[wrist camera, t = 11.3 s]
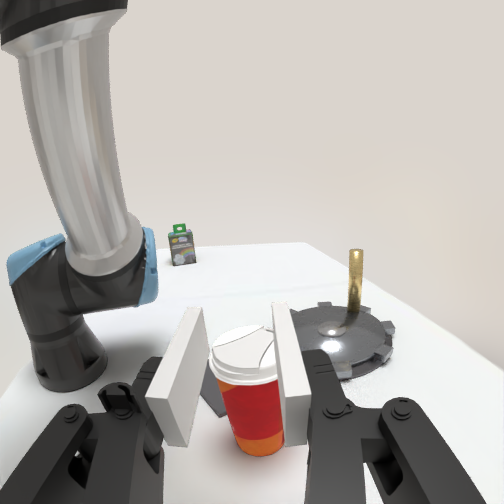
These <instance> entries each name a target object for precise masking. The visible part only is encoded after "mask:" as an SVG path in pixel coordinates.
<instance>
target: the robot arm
mask: <svg viewBox="0 0 504 504" xmlns="http://www.w3.org/2000/svg"><path fill="white" fill-rule="evenodd" d="M127 2H128V0H0V34H1V49H2V50H4V51H6V52H7V53H9V54H11V55H13V56H15V57H16V58H17V59H18V63H19V73H20V81H21V87H22V93H23V100H24V105H25V110H26V115H27V119H28V124H29V128H30V132H31V136H32V140H33V144H34V147H35V151H36V154H37V158H38V161H39V164H40V167H41V170H42V173H43V176H44V179H45V182H46V185H47V188H48V190H49V193H50V196H51V198H52V201H53V203H54V206H55V208H56V211H57V213H58V216H59V218H60V220H61V223H62V225H63V227H64V229H65V232H66V234H67V235H68V238H67V241H66V242H65V238H64V236H63V235H62V234H57V235H54V236H51V237H49V238H46V239H44V240H41V241H39V242H36V243H34V244H32V245H29V246H27V247H25V248H23V249H21V250H18V251H16V252H15V253H13V254H11V255H10V256H9V258H8V260H7V271H8V276H9V284H10V286H11V288H12V292H13V295H14V298H15V302H16V304H17V307H18V310H19V313H20V316H21V319H22V322H23V324H24V327H25V330H26V332H27V334H28V337H29V340H30V343H31V350H32V357H33V363H34V369H35V372H36V375H37V377H38V378H39V380H40V382H41V384H42V385H43V386H44V387H45V388H47V389H49V390H52V391H57V392H67V391H73V390H76V389H79V388H82V387H84V386H86V385H88V384H90V383H91V382H93V381H94V380H95V379H97V378H98V377H99V376H100V375H101V374H102V372H103V371H104V369H105V367H106V365H107V356H106V353H105V351H104V348H103V346H102V344H101V343H100V342H99V340H98V339H97V338H96V336H95V335H94V334H93V332H92V331H91V330H90V328H89V327H88V325H87V324H86V323H85V320H84V318H83V314H88V313H95V312H101V311H108V310H114V309H121V308H127V307H139V306H140V305H143V304H148V303H151V302H153V301H155V299H156V298H157V296H158V273H157V258H156V248H155V239H154V234H153V231H152V229H150V228H145V227H141V224H140V222H139V220H138V219H137V218H136V217H135V216H134V215H132V214H131V213H129V212H127V208H126V204H125V199H124V194H123V189H122V183H121V179H120V172H119V166H118V160H117V153H116V146H115V138H114V130H113V121H112V113H111V112H112V111H111V99H110V83H109V50H108V49H109V31H110V29H111V27H112V26H113V25H114V24H115V23H116V22H117V21H118V20H119V19H120V18H121V17H122V16H123V15H124V14H125V13H126V12H127ZM272 317H273V336H274V352H275V360H276V368H277V377H278V386H279V394H280V403H281V412H282V421H283V430H284V439H285V447H288V446H297V445H305V444H307V439H308V444H309V453H308V460H307V464H308V467H307V480H306V491H305V501H304V504H366V494H365V479H364V467H363V463H367V466H368V468H369V470H370V473H371V475H372V477H373V480H374V482H375V484H376V487H377V489H378V491H379V494H380V496H381V498H382V501H383V503H384V504H486V502H485V500H484V499H483V497H482V496H481V494H480V492H479V491H478V489H477V488H476V486H475V485H474V483H473V482H472V480H471V478H470V477H469V475H468V474H467V472H466V471H465V469H464V468H463V466H462V465H461V463H460V462H459V460H458V459H457V458H456V456H455V455H454V453H453V452H452V450H451V449H450V447H449V446H448V445H447V443H446V442H445V440H444V439H443V437H442V436H441V435H440V433H439V432H438V430H437V429H436V428H435V426H434V425H433V423H432V422H431V421H430V419H429V418H428V417H427V415H426V414H425V413H424V411H423V410H422V408H421V407H420V406H419V405H418V404H417V403H416V402H415V401H414V400H411V399H409V398H403V397H398V398H393V399H391V400H389V401H387V402H386V403H385V405H384V406H383V407H382V408H361V407H358V406H355V405H354V403H353V402H352V401H350V400H349V399H347V398H346V397H345V395H344V392H343V389H342V387H341V384H340V382H339V379H338V377H337V374H336V372H335V369H334V367H333V365H332V362H331V359H330V357H329V355H328V354H327V353H326V352H324V351H323V350H322V349H314V350H306V351H300V348H299V344H298V340H297V336H296V333H295V329H294V325H293V321H292V318H291V314H290V310H289V307H288V303H287V301H286V302H274V303H272ZM209 352H210V350H209V344H208V339H207V334H206V328H205V322H204V316H203V310H202V307H187V309H186V311H185V313H184V315H183V317H182V319H181V321H180V324H179V326H178V328H177V330H176V332H175V334H174V336H173V338H172V340H171V342H170V344H169V346H168V348H167V350H166V352H165V354H164V357H151V358H150V359H148V360H147V361H146V362H145V363H144V364H143V366H142V368H141V369H140V373H138V375H137V377H136V379H135V380H134V382H133V384H132V386H130V385H128V384H126V383H121V382H117V383H111V384H109V385H106V386H105V387H103V388H102V389H101V390H100V391H99V393H98V394H97V395H98V397H99V398H100V400H101V402H102V404H103V406H104V408H105V410H106V411H107V412H105V413H93V414H88V413H87V411H86V409H85V408H84V407H83V406H81V405H79V404H70V405H67V406H65V407H63V408H62V409H61V410H59V411H58V413H57V414H56V415H55V416H54V418H53V419H52V420H51V422H50V423H49V424H48V425H47V427H46V428H45V429H44V431H43V432H42V433H41V434H40V436H39V437H38V438H37V440H36V441H35V442H34V444H33V445H32V446H31V448H30V449H29V450H28V452H27V453H26V454H25V456H24V457H23V459H22V460H21V461H20V463H19V464H18V466H17V467H16V468H15V470H14V471H13V473H12V474H11V475H10V477H9V478H8V480H7V481H6V483H5V484H4V486H3V487H2V489H1V490H0V504H163V478H164V450H163V448H162V447H161V445H162V442H163V438H164V439H165V441H166V443H167V445H168V446H177V447H188V443H189V439H190V434H191V430H192V425H193V421H194V416H195V412H196V408H197V403H198V399H199V395H200V390H201V386H202V382H203V378H204V373H205V369H206V365H207V361H208V357H209ZM77 450H78V451H79V453H80V454H79V455H78V456H76V457H75V456H74V455H75V453H76V452H77Z"/></svg>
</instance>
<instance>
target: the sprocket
mask: <svg viewBox="0 0 504 504" xmlns="http://www.w3.org/2000/svg"><path fill="white" fill-rule="evenodd" d="M362 271H363V250H361V249H351V250H350V256H349V287H348V305H347V307H341V306H332V304H331V302H318V307H315V308H309V309H305V310H302V311H299V312H297V311H295V310H292V309H289V310H290V314H291V318H292V321H293V325H294V329H295V333H296V336H297V340H298V344H299V348H300V351H306V350H314V349H322V350H323V351H324V352H326V353H327V354H328V355H329V357H330V359H331V362H332V365H333V367H334V369H335V372H336V374H337V377H338V378H346V377H351V376H352V368H351V367H355V366H358V365H361V364H364V363H366V362H368V361H369V360H371V359H373V358H374V359H376V360H379V361H381V362H385V361H386V360H387V359H388V358H389V357H390V356H391V355H392V352H393V347H390V346H387V345H385V344H384V340H385V335H389V334H394V333H395V327H394V325H393V324H392V322H391V321H383V322H380V321H379V320H378V319H377V318H375V317H374V316H372V315H371V314H370V311H371V308H368V307H365V306H362V305H360V303H361V290H362Z"/></svg>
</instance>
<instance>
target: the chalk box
mask: <svg viewBox="0 0 504 504" xmlns="http://www.w3.org/2000/svg"><path fill="white" fill-rule="evenodd" d="M178 227H182V230H180V231H178V230H177V228H178ZM173 230H174V232H171V233H169V234H168V238H169V244H170V251H171V257H172V262H173V266H176V265H183V264H190V263H196V257H195V250H194V243H193V234H192V232H191V230H190V229H189V230H186V226H185V224H176V225H173Z"/></svg>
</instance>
